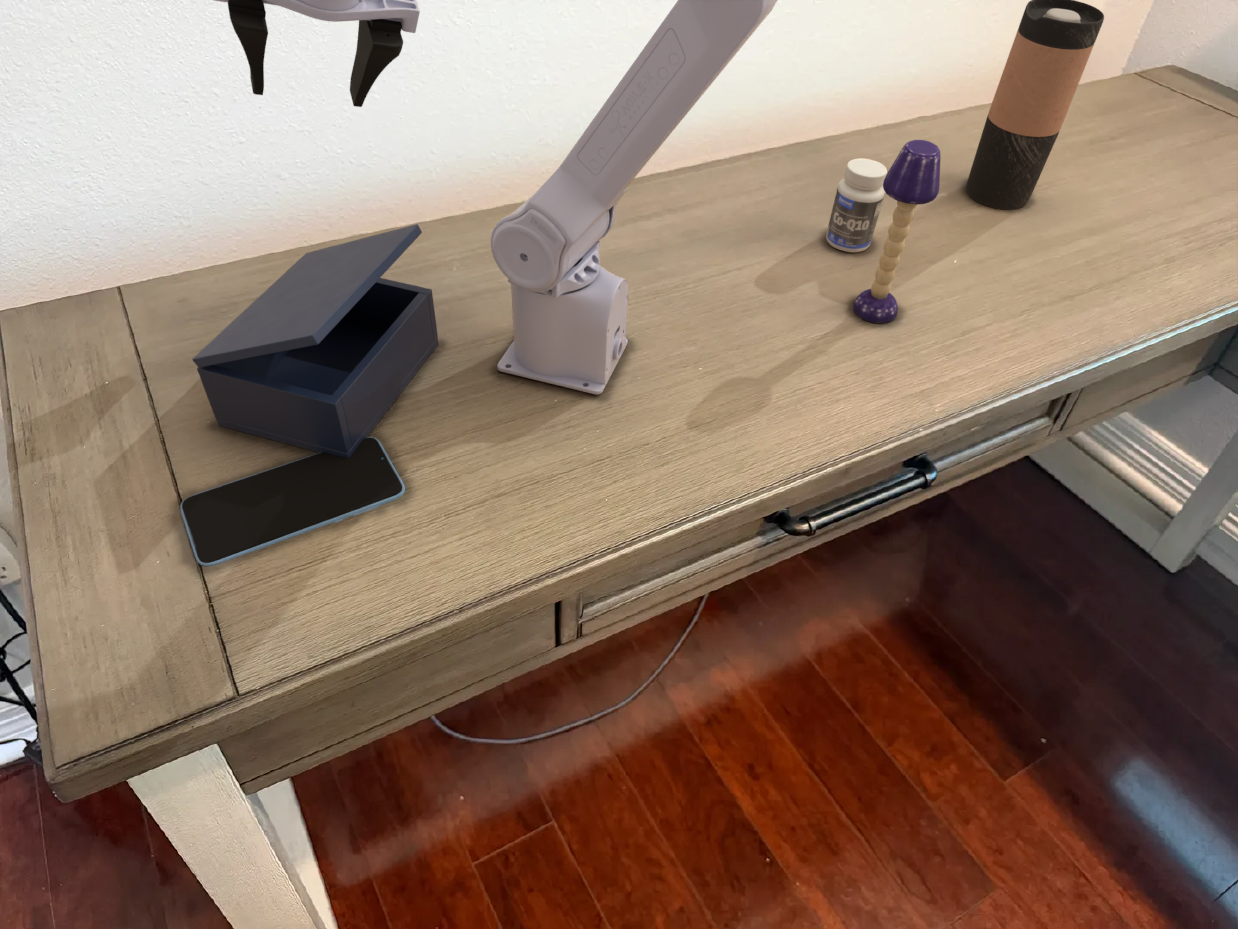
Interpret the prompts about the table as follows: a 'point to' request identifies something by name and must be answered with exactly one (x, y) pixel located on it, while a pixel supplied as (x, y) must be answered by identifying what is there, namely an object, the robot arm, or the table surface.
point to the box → (330, 375)
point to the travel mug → (1032, 100)
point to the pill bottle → (857, 205)
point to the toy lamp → (900, 222)
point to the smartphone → (288, 501)
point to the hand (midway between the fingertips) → (307, 92)
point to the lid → (308, 298)
